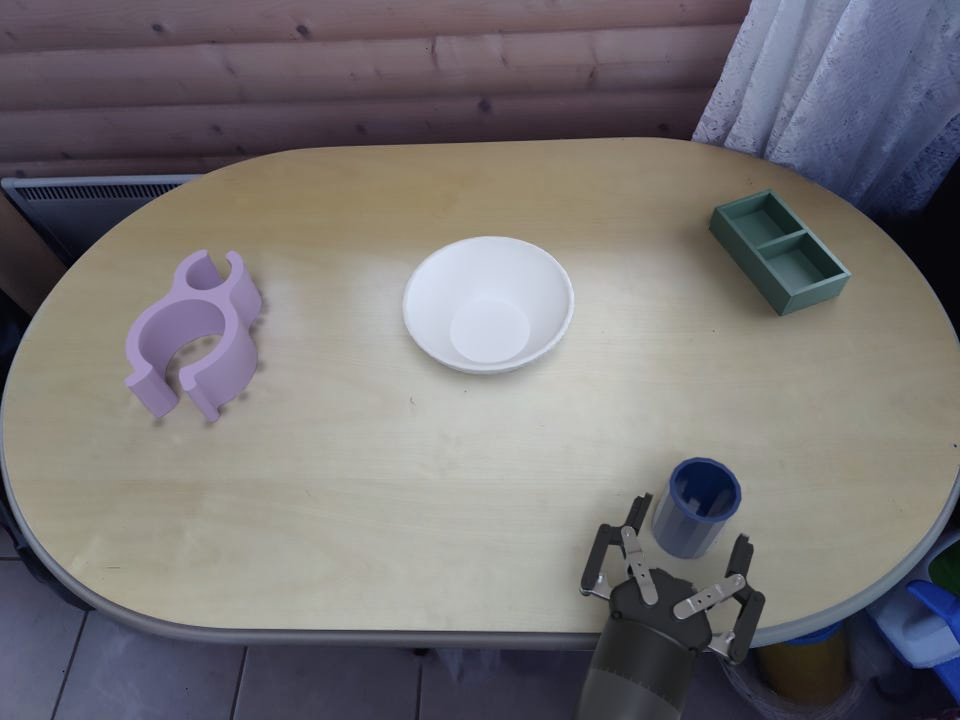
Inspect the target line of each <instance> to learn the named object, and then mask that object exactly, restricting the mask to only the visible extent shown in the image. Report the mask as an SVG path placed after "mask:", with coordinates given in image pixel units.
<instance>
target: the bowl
mask: <svg viewBox="0 0 960 720" xmlns="http://www.w3.org/2000/svg"><path fill="white" fill-rule="evenodd" d="M401 301H402V304H401V312H402V316H403V322H404V324H405V326H406V328H407V330H408V332H409V335H410V337H411V338H412V339H413V340H414V341H415V343H416V344H417V345H418V347H419V348H420V349H421V350H422V351H424V352H425V354H427V355H428V356H430V357H431V358H432V359H433V360H434V361H436V362H438V363H439V364H442V365H443V366H445V367H447V368H450V369H453V370H456V371H459V372H462V373H466V374H473V375H481V376H483V375H500V374H506V373H509V372H514V371H517V370H520V369H522V368H525V367H528V366H530V365H532V364H533V363H535V362H537V361H539V360H540V359H542V358H544V356H546V355H547V354H548V353H549V352H550V351H551V350H552V349H553V348H554V347H555V346H557V344H558V343H559V341H560V340H561V339H562V337H563V336H564V335H565V333H566V332H567V330H568V327H569V325H570V322H571V320H572V317H573V315H574V307H575V293H574V287H573V284H572V282H571V279H570V277H569V275H568V273H567V271H566V269H564V267H563V266H562V264H561V263H559V261H558V260H556V259H555V258H554V256H552V254H550V253H548V252H547V251H546V250H543V249H542V248H541V247H539V246H537V245H535V244H532V243H530V242H527V241H525V240H521V239H517V238H513V237H508V236H498V235H485V236H475V237H470V238H465V239H460V240H458V241H455V242H452V243H449V244H447V245H445V246H443V247H442V248H438V250H435V251H434V252H433V253H431V254H430V255H429V256H427V257H426V258H425V259H423V260H422V262H420V263H419V265H418V266H417V267H416V269H414V270H413V272H412V273H411V275H410V277H409V279H408V280H407V282H406V285H405V288H404V291H403V294H402V300H401Z"/></svg>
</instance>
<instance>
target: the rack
mask: <svg viewBox="0 0 960 720" xmlns="http://www.w3.org/2000/svg"><path fill="white" fill-rule="evenodd" d="M708 230H709V231H710V232H711V233H712V235H713V236H714V237H715V238H716V240H717V241H718V242H719V243H720V244H721V245H722V247H723V248H724V249H725V250H726V252H727V253H728V255H730V257H731V258H732V259H733V260H734V262H735V263H736V264H737V265H738V266H739V268H741V270H742V271H743V272H744V274H745V275H746V276H747V277H748V278H749V280H750V281H751V282H752V283H753V284H754V286H755V287H756V288H757V289H758V290H759V292H760V293H761V294H762V296H763V297H764V298H765V299H766V300H767V302H768V303H769V304H770V305H771V307H772V308H773V309H774V310H775V311H776V312H777V313H778V315H779V316H780V317H782V316H783V317H784V316H786V315H789V314H791V313H794V312H797V311H799V310H802V309H805V308H807V307H810V306H813V305H817V304H818V303H821V302H824V301H827V300H830V299H832V298H835V297H838V296H840V295H841V293H842V292H843V290H844V289H845V287H846V285H847V284H848V282H849V280H850V278H851V277H852V275H853V274H852V273H851V272H850V271H849V269H848V268H847V267H845V265H844V263H843V264H842V262H841V261H840V259H838V258H837V257H836V256H835V255H834V253H833V252H831V251H830V249H829V248H827V246H826V245H825V244H824V243H823V242H822V241H821V240H820V239H819V237H817V236H816V235H815V234H814V233H813V232H812V230H811V229H810V228H809V227H808V226H807V225H806V224H805V223H804V222H803V221H802V220H801V219H800V218H799V217H798V215H797V214H795V212H794V211H793V210H792V209H791V208H790V207H789V206H788V204H786V203H785V202H784V200H783V199H781V197H780V196H778V194H777V193H776V192H775V191H774V190H773V189H772V188H768V189H765V190H763V191H760V192H756V193H753V194H751V195H748V196H744V197H741V198H738V199H735V200H732V201H728V202H726V203H723V204H720V205H717V206H714V208H713V212H712V215H711V218H710V221H709V224H708Z"/></svg>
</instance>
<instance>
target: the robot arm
mask: <svg viewBox="0 0 960 720" xmlns="http://www.w3.org/2000/svg"><path fill="white" fill-rule="evenodd" d="M653 498H654V494H651V493H649V492H648V491H646V492H645V493H644V496H640V495H637V496H636V497H635V498H634V499H633V502H632V505H631V507H630V509H629V512H628V514H627V517H626V519H625V521H624V523H623V524H622V525H620V526H615V525H614V526H612V525H611V524H609V523H607V522H606V523H601V524H600V525H599V526H598V530H597V533H596V534H595V538H594V541H593V544H592V546H591V549H590V552H589V555H588V558H587V561H586V564H585V567H584V570H583V572H582V575H581V579H580V581H579V582H580V583H579V587H578V591H579V593H580V595H581V596H583V597H590V596H593V597H595V598H598V599H600V600H603V601H604V602H605V601H606V602H608V606H609V612H608V615H607V618H606V620H605V623H604V626H603V628H602V631H601V634H600V636H599V639H598V641H597V644H596V647H595V649H594V652H593V654H592V656H591V660H590V662H589V666H588V667H587V669H586V673H585V675H584V677H583V678H582V679H581V682H580V685H579V691H578V693H577V695H576V698H575V702H574V703H573V705H574V706H573V708H572V712H571V716H570V720H681V717H682V713H683V711H684V708H685V704H686V701H687V697H688V695H689V691H690V687H691V685H692V683H693V682H692V681H693V679H694V676H695V672H696V669H697V666H698V662H699V659H700V657H701V655H702V653H703V652H704V651H705V650H707V651H710V652H711V653H713V654H715V655H717V657H718V656H719V657H720V658H722V660H723V663H724V664H725V665H726V666H728V667H730V668H734V667H737V666H738V665H740V664H741V663H742V662H743V661H745V659H746V658H747V656H748V653H749V650H750V647H751V644H752V641H753V639H754V635H755V633H756V630H757V628H758V625H759V622H760V619H761V615H762V612H763V610H764V607H765V604H766V601H767V600H766V596H765V594H764V593H763V592H761V591H759V590H756V589H754V588H753V587H752V586H751V585H750V584H749V582H748V579H747V577H748V572H749V569H750V566H751V562H752V559H753V556H754V552H755V547H754V544H753V543H750V542H749V540H750V535H748V534H745V533H743V532H740V533H739V534H738V536H737V538H736V540H735V541H734V544H733V548H732V550H731V554H730V558H729V560H728V563H727V568H726V570H725V573H724V579H723V580H721V581H719V582H718V583H713V584H712V585H710V586H708V587H706V588H705V589H703V590H701V591H699V590H697V588H696V587H695V586H694V583H693V582H691V581H689V580H686V579H684V578H679V577H675V576H673V575H672V574H670V572H668V571H667V570H664V569H662V568H660V567H656V568H649V566H648V564H647V560H646V558H645V557H646V556H645V554H644V552H643V550H642V549H641V546H640V543H639V540H638V537H639V536H638V535H639V534H640V531H641V529H642V525H643V523H644V521H645V518H646V515H647V513H648V510H649V508H650V505H651V503H652V500H653ZM609 546H616V547H618V548H619V551H620V554H621V558H622V561H623V568H624V572H625V575H626V578H627V579H626V580H624V581H623V582H621V583H619V584H616V585H615V586H614V587H613V588H612V587H611V586H610V585H609V583H608V579H609V578H608V573H607V571H605V570H603V569H602V566H603V563H604V560H605V557H606V554H607V551H608V548H609ZM732 598H733V599H734V600H735V601H736V602H738V603H739V604H740V609H739V611H738V614H737V617H736V619H735V623H734V625H733V628H732V630H731V629H726V630H725V631H724V632H722V633H721V634H720V636H714V634H713V629H712V627H711V624H710V620H709V617H708V615H707V613H708V612H710V611H712V610H714V609H716V608H717V607H719V606H720V605H722V604H723V603H725V602H727V601H729V600H730V599H732Z"/></svg>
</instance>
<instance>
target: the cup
mask: <svg viewBox="0 0 960 720" xmlns="http://www.w3.org/2000/svg"><path fill="white" fill-rule="evenodd" d="M742 496H743V495H742V487H741V484H740V482H739V480H738V478H737V476H736V474H735V473H734V472H733V471H731V469H730V468H728V466H726V465H725V464H724V463H723V462H719V461H717V460H715V459H714V458H711V457H703V456H702V457H701V456H695V457H691V458H688V459H684V460H682V461H681V462H680V463H679V464H678V465H676V466H675V467H674V468H673V471H672V473H671V475H670V477H669V479H668V482H667V484H666V486H665V489H664V491H663V493H662V495H661V498H660V500H659V503H658V505H657V508H656V509H655V512H654V513H653V516H652V522H651V531H652V534H653V537H654V540H655V541H656V543H657V545H658V546H659V547H660V548H661V549H662V550H663V551H664V552H665V553H667V554H668V555H670V556H672V557H674V558H677V559H681V560H695V559H699V558H701V557H703V556H704V555H706V554H707V553H708V552H709V551H710V550H711V549H712V548H713V547H714V545H715V544H716V542H717V541H718V539H719V538H720V536H721V535H722V533H723V532H724V530H725V529H726V527H728V525H729V523H730V522H731V521H732V519H733V517H734V516H735V515H736V513H737V512H738V510H739V507H740V506H741V502H742V501H743V500H742V499H743V497H742Z"/></svg>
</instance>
